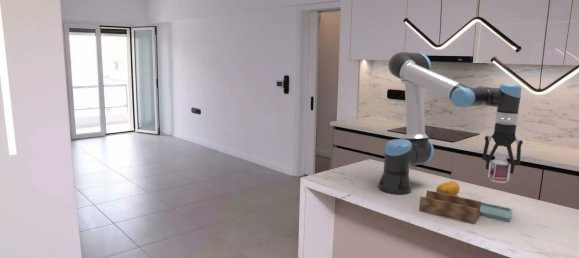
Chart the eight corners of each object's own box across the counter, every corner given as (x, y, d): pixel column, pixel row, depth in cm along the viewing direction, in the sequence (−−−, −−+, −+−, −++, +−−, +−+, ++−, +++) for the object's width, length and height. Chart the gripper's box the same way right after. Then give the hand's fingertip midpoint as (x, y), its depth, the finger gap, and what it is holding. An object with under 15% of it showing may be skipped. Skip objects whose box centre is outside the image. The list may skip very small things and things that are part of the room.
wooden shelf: (419, 210, 166) (420, 196, 165) (425, 203, 174) (427, 190, 173) (475, 224, 154) (477, 209, 153) (479, 215, 163) (481, 201, 162)
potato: (430, 198, 181) (432, 183, 180) (448, 192, 190) (449, 178, 188) (445, 203, 175) (446, 187, 174) (462, 197, 184) (464, 182, 183)
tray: (474, 214, 164) (474, 210, 164) (479, 205, 175) (479, 201, 174) (509, 221, 157) (509, 218, 157) (512, 212, 168) (512, 208, 168)
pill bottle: (509, 182, 163) (513, 155, 161) (501, 184, 159) (505, 157, 157) (494, 178, 168) (498, 152, 166) (486, 180, 164) (489, 154, 162)
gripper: (478, 121, 161) (471, 176, 165) (533, 127, 151) (524, 186, 155) (480, 119, 167) (474, 172, 172) (534, 125, 157) (525, 181, 161)
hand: (498, 179), depth 163 cm, fingers closed on pill bottle, 6 cm apart
